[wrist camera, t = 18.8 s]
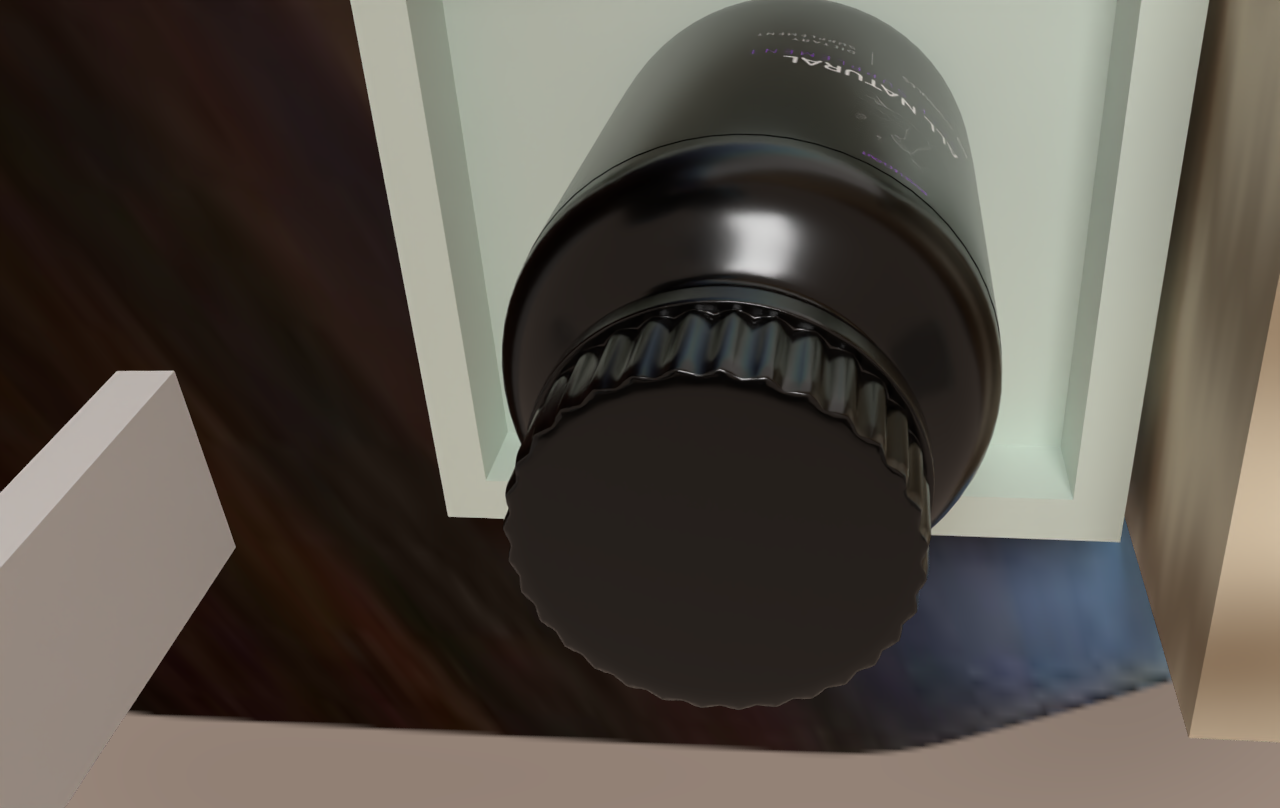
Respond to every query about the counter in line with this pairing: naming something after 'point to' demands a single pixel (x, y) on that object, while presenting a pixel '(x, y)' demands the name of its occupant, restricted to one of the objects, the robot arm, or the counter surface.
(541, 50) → the sliding tray
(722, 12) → the supplement bottle
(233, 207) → the counter surface
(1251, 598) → the backstop wall
